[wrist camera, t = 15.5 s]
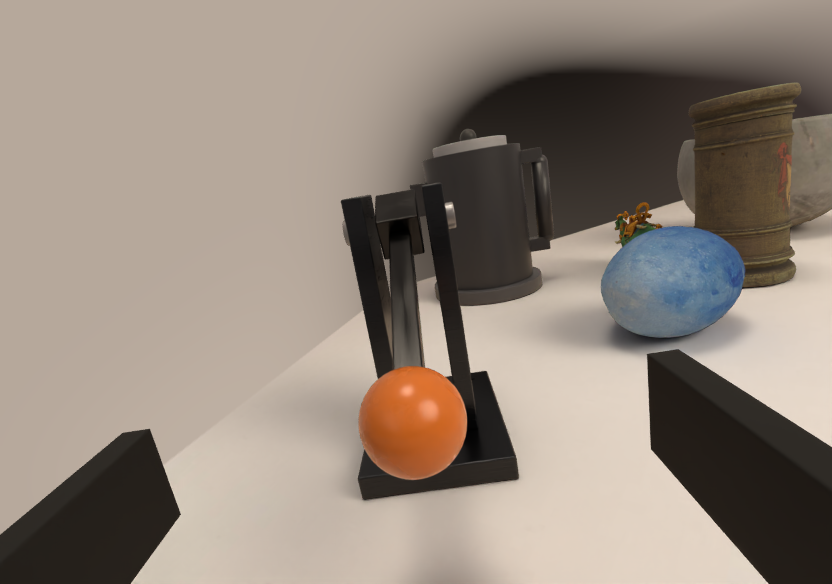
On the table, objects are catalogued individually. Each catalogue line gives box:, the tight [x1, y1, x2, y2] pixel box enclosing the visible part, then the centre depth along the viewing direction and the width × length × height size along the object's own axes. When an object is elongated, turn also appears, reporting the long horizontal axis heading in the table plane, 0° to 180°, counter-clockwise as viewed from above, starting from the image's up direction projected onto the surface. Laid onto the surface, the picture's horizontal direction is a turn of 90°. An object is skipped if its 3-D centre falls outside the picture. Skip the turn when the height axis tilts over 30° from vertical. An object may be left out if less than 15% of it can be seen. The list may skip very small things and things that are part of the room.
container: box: [689, 83, 801, 287], centre depth 43 cm, size 9×9×18 cm
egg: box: [601, 226, 745, 338], centre depth 35 cm, size 9×9×15 cm
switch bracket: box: [341, 183, 519, 499], centre depth 24 cm, size 10×8×15 cm
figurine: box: [615, 203, 662, 247], centre depth 54 cm, size 3×12×8 cm, turn 5°
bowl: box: [677, 114, 832, 226], centre depth 61 cm, size 20×20×15 cm
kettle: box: [410, 129, 554, 305], centre depth 54 cm, size 17×14×20 cm
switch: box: [359, 189, 467, 480], centre depth 18 cm, size 15×4×4 cm, turn 179°
